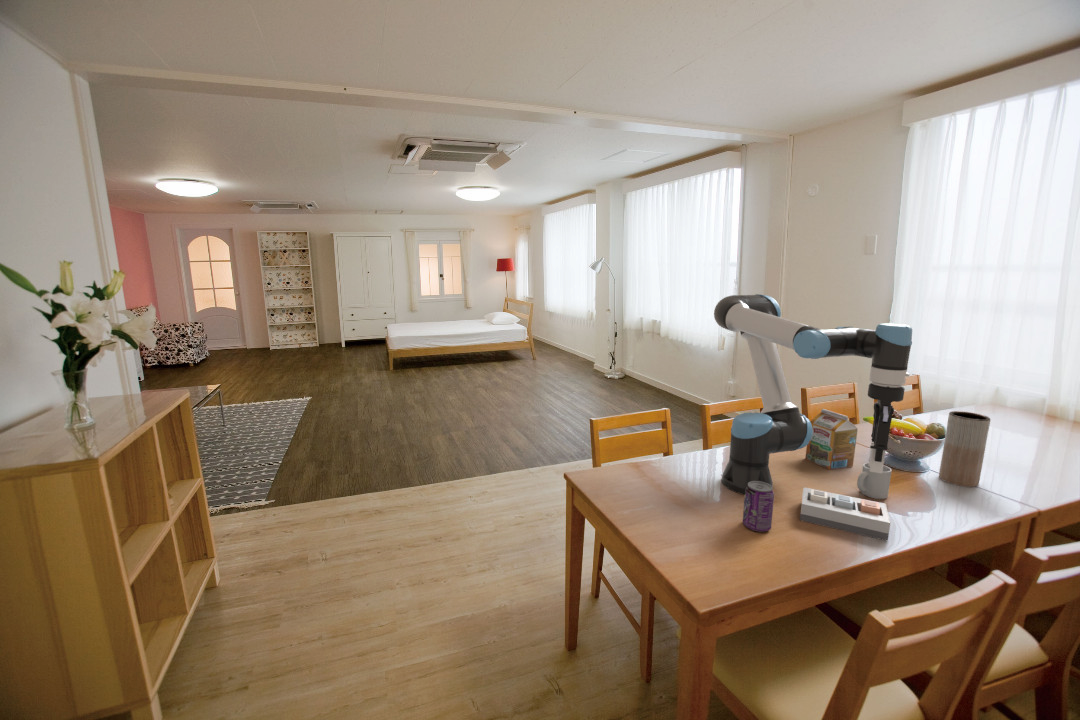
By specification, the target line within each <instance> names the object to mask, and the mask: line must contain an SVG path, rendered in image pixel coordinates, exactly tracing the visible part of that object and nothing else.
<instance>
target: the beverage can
mask: <svg viewBox="0 0 1080 720" xmlns="http://www.w3.org/2000/svg"><path fill="white" fill-rule="evenodd" d="M773 489H774V486H773V487H772V486H771V485H770V484H768V483H765V482H761V481H751V482H749V483H748V486H747V488H746V489H745V494H744V502H743V511H742V512H743V514H742V524H743V526H745V527H746V528H748V529H750V530H752V531H754V532H759V533H760V532H768V531H770V530H771V529H772V523H773V522H772V521H773V513H774V503H775V502H774V500H775V492H774V490H773Z"/></svg>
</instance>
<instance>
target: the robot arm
mask: <svg viewBox="0 0 1080 720" xmlns="http://www.w3.org/2000/svg"><path fill="white" fill-rule="evenodd" d="M781 311H782V310H781V307H780V305H779V303H778V302H777V300H776V299H775V298H773V296H770V295H766V294H759V293H758V294H756V293H755V294H747V295H746V294H744V295H738V294H733V295H728V296H724V297H723V298H722V299H721V300H719V301H718V302H717V303H716V305H715V307H714V311H713V317H714V320H715V323H716V324H717V325H718V326H719V327H720V328H722V329H725V330H727V331H730V332H732V333H737V332H740V336H741V338H742V339H745V340H746V342H747V345H748V349H749V353H750V358H751V361H752V365H753V369H754V374H755V377H756V382H757V385H758V389H759V394H760V398H761V402H762V405H763V408H762V410H761V411H760V412H744V413H740V414H738V415H735V416H734V418H733V419H732V424H731V427H730V443H729V444H730V447H729V459H728V462H727V464H726V466H725V468H724V471H723V473H722V475H721V483H722V485H723V486H724V487H725V488H727V489H728V490H730V491H732V492H735V493H738V494H741V495H745V489H746V488H747V486H748V483H749V482H751V481H761V482H765V483H768V484H770V485H771V486H772V487H773V488H774V485H773V484H774V482H773V479H772V475H771V471H770V467H769V463H770V454H776V453H783V452H784V453H785V452H793V451H797V450H800V449H803V448H805V447H807V445H808V444H809V441H810V440H811V438H812V433H813V430H812V425H811V422H810V421H811V420H810V419H809V418H807V416H806V415H805V414H803V413H800V409H799V406H798V405H796V404H794V403H793V402H792V399H791V395H790V392H789V391H790V390H789V387H788V384H787V380H786V379H787V378H786V376H785V372H784V368H783V364H782V360H781V357H780V354H779V353H780V352H779V350H778V345H780V346H782V347H785V348H788V349H790V350H794V352H795V353H796V354H797V355H798V356H799V357H800V358H803V359H811V360H816V359H817V360H818V359H823V358H824V359H825V358H833V357H834V358H836V357H850V356H855V357H862V358H866V359H867V358H868V359H871V366H870V373H869V382H870V383H868V390H867V396H868V397H869V398H870V399H872V400H875V401H876V402H874V404H873V415H872V416H873V417H872V418H873V421H872V430H871V431H872V432H871V439H870V440H871V442H870V443H871V444H870V445H869V447H870V450H869V458H868V463H869V465H868V466H870V472H876V473H882V472H883V465H885V464H884V463H885V457H886V451H887V450H888V442H889V437H890V431H891V424H892V419H893V415H894V412H895V408H894V406H893V404H892V403H893V402H896V403H899V402H903V401H904V396H905V387H904V385H905V384H906V381H907V379H906V377H907V378H909V377H910V373H909V372H908V365H909V359H910V353H911V347H912V344H913V341H912V337H913V327H912V326H910V325H908V324H903V323H879V324H877V325H876V328H875V329H870V328H869V329H867V328H860V327H859V328H858V327H854V326H837V327H835V328H828V329H827V328H826V329H825V328H819V327H814V326H812V325H808V324H805V323H802V322H797V321H794V320H791V319H787V318H784V317H781V316H782V312H781Z"/></svg>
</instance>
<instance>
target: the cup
mask: <svg viewBox="0 0 1080 720" xmlns="http://www.w3.org/2000/svg"><path fill="white" fill-rule="evenodd" d="M868 465H869V462H865V463H863V465H862V471H861V473H860V474H859V475H858V477H857V482H856V487H857V489H858V490H859V491H860V493H861V494H862V495H863V496H866V497H868V498H872V499H876V500H885V499H887V498H888V496H889V490H890V484H891V476H892V468H891V467H889V466H887V465H885V464H884V465H883V472H882V473H876V472H870V466H868Z"/></svg>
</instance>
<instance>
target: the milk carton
mask: <svg viewBox="0 0 1080 720" xmlns="http://www.w3.org/2000/svg"><path fill="white" fill-rule="evenodd" d="M809 421H810V422H811V425H812V430H813V433H812V438H811V440H810V441H809V444H808V445H807V446H806V448H805V449H806V450H805V460H806V461H809V462H812V463H814V464H816V465H817V466H821V467H822V468H825V469H828V470H829V471H831V470H832V471H833V470H839V469H844V468H851V467H854V460H855V453H856V444H857V436H858V427H857V426H856V425H855V424H853V423H852V422H851V421H850V420H849V417H848V415H844V414H841V413H838V412H834V411H832V410H827V409H824V408H822V409H821V410H820V412H819V413H817V415H815V416H814V417H813V418H811V420H809Z"/></svg>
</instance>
